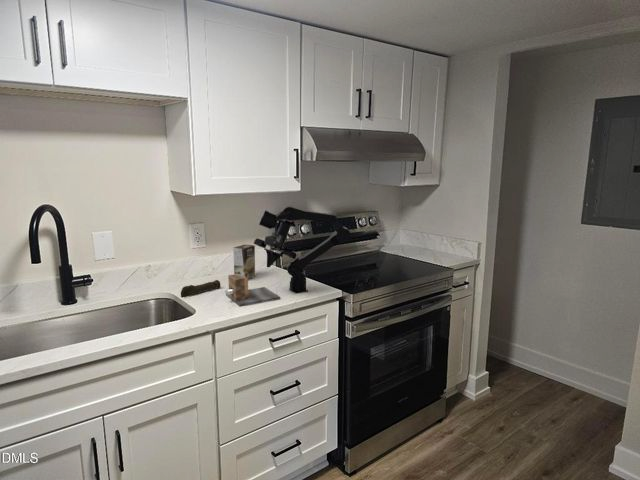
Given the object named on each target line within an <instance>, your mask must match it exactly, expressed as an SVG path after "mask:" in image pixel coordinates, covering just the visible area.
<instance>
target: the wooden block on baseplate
mask: <svg viewBox="0 0 640 480" xmlns="http://www.w3.org/2000/svg"><path fill="white" fill-rule="evenodd" d="M230 289H233V291H234V294H230V295H226V294H225V296H226V297H227V298H228V299H230V300H231V301H232V302H233V303H234V304H236V305H237V306H238V307H240V308H241V307H244V306H251V305H256V304H260V303H267V302H272V301H277V300H281V296H279V295H278V294H277V293H275V292H273V291H272V290H270V289H268V288H267V287H265V286H263V287H257V288H250V289H249V288H248V297H245V279H244V278H243V277H241V276H240V275H238V274H234V273H233V274H228V290H230Z"/></svg>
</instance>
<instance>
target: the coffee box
mask: <svg viewBox="0 0 640 480" xmlns="http://www.w3.org/2000/svg"><path fill="white" fill-rule="evenodd" d="M255 247H256V245H255V244H253V245H252V244H242V245H238V246H234V247H233V275H234V274H238V275H240V276H245V277H247V278H248V279H249V280H251V279H253V278H255V277H256V248H255Z"/></svg>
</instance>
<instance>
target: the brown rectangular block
mask: <svg viewBox="0 0 640 480" xmlns="http://www.w3.org/2000/svg"><path fill="white" fill-rule="evenodd" d="M241 277H243V278H244V279H245V297H248V290H249V280H248V278H247V277H245V276H241ZM230 294H234V291H233V289H230V290H229V289H226V290H225V296H226V295H230Z"/></svg>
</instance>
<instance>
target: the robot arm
mask: <svg viewBox="0 0 640 480" xmlns="http://www.w3.org/2000/svg"><path fill="white" fill-rule="evenodd" d="M301 220H304V221H305V220H307V221H313V222H321V223H328V224H330V226H332V228H333V229H334V232H332V234H331V235H329V237H328V238H327V239H325V240H323V241H322V242H321V243H319V244H318V245H316V246H315V247H313V248H312V249H311V250H309V251H308V252H306V253H305V254H303V255H302V256H298V254H297V252H296V251H294V250H291V249H289V248H285V247H284V245H285V243H286V242H288V241H287V240H288V236H289V232H290V230H291V228H296V224H295V221H301ZM258 225H259V226H261V227H264V228H267V229H268V230H272V229H275V230H274V232H272V233H271V235H267V236H265V238H264V239H261V238H259V237H258V238H256V239H254V241H253V245H254V246H258V247H260V248H263V250H264V251H265V252H266V268H271V266H273V264H274V263H275V262H276V261H278V259H280V258H281V257H284V256H288V257H289V258H290V259H289V261H288V262H287V267H286V270H287V273H288V274H289V275H290V276H291V277H290V281H289V288H288V290H289V291H291V292H292V293H294V294H300V293H305V292H307V293H308V292H309V290H308V289H307V276H306V271H305V268H306V267H307V266H308V264H310V263H312V262H313V261H314V260H316V259H317V258H319V257H320V256H322V255H323V254H326V253H327V251H329V250H331V249H332V248H334V247H335V246H338V245H341V244H343V243H345V242H347V241H349V240H350V238H351V232H350V230H349V229H348V228H347V227H346V226H343V225H342V223H341V222H340V221H339V219H338V218H337V216H336V215H335V214H334V213H327V212H319V211H314V210H313V211H311V210H304V209H301V208H299V207H297V206H293V205H286V206H284V208H283V210H282V211H280V212H278V213H277V214H276V213H272V212H270V211H268V210H267V209H266V210H264V212H263V215H262V217H261V219H260V222H259V224H258Z"/></svg>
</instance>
